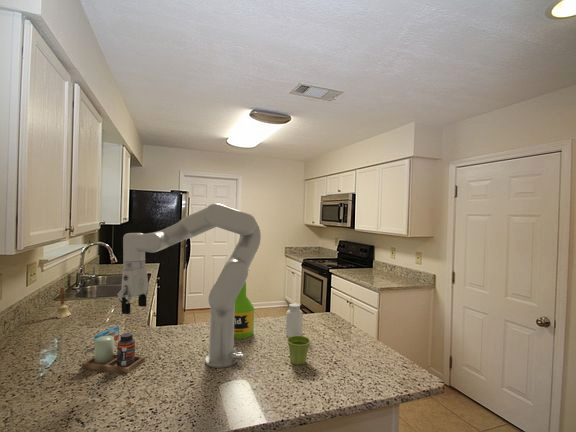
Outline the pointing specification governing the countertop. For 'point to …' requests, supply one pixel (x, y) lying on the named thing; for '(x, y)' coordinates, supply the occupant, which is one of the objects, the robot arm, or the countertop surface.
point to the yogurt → (110, 333)
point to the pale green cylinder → (104, 350)
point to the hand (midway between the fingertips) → (134, 309)
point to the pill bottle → (294, 320)
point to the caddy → (113, 365)
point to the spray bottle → (243, 315)
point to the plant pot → (298, 349)
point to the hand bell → (62, 306)
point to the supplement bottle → (126, 350)
